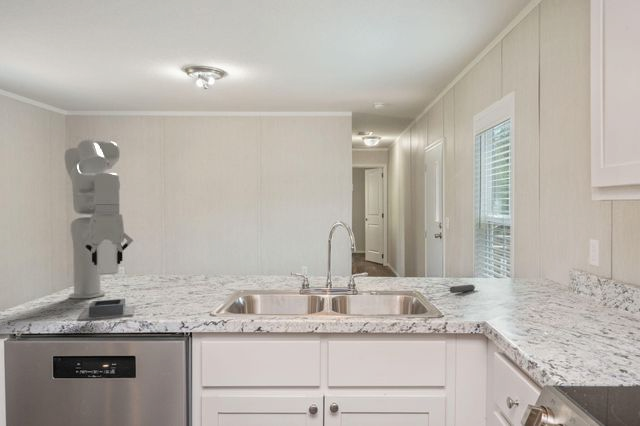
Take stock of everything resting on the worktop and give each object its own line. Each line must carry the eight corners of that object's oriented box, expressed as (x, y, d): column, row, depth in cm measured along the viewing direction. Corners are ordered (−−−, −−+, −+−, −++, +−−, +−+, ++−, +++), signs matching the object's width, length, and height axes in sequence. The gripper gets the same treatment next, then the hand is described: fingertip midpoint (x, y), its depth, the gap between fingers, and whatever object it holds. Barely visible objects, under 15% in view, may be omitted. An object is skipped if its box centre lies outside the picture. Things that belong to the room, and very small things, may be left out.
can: (122, 271, 144) (122, 236, 144) (111, 274, 138) (110, 237, 138) (104, 271, 145) (104, 236, 145) (92, 274, 139) (92, 237, 138)
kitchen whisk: (481, 291, 177) (481, 275, 177) (434, 303, 155) (434, 286, 155) (468, 289, 182) (467, 274, 182) (420, 301, 160) (420, 284, 160)
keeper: (84, 311, 145) (84, 300, 145) (135, 306, 151) (135, 296, 151) (76, 320, 132) (76, 309, 132) (133, 315, 138) (132, 304, 138)
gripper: (75, 210, 135) (75, 266, 135) (134, 210, 141) (135, 264, 141) (79, 210, 142) (79, 264, 142) (135, 210, 148) (136, 261, 148)
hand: (107, 263), depth 141 cm, fingers closed on can, 6 cm apart
